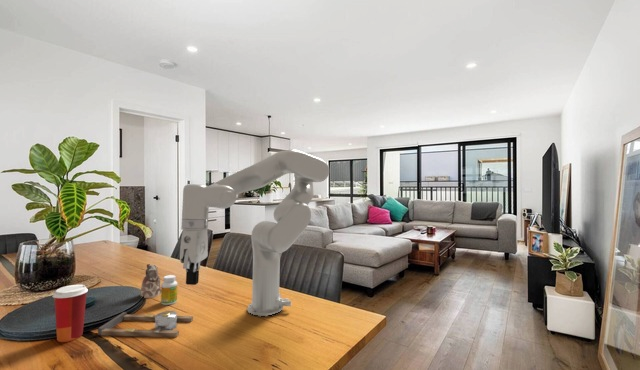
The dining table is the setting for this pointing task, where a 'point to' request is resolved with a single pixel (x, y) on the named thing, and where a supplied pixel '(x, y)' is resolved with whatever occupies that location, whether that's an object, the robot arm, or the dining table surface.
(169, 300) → the supplement bottle
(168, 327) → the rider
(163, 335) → the beam track
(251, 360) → the dining table surface
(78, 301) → the paper cup
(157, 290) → the figurine
